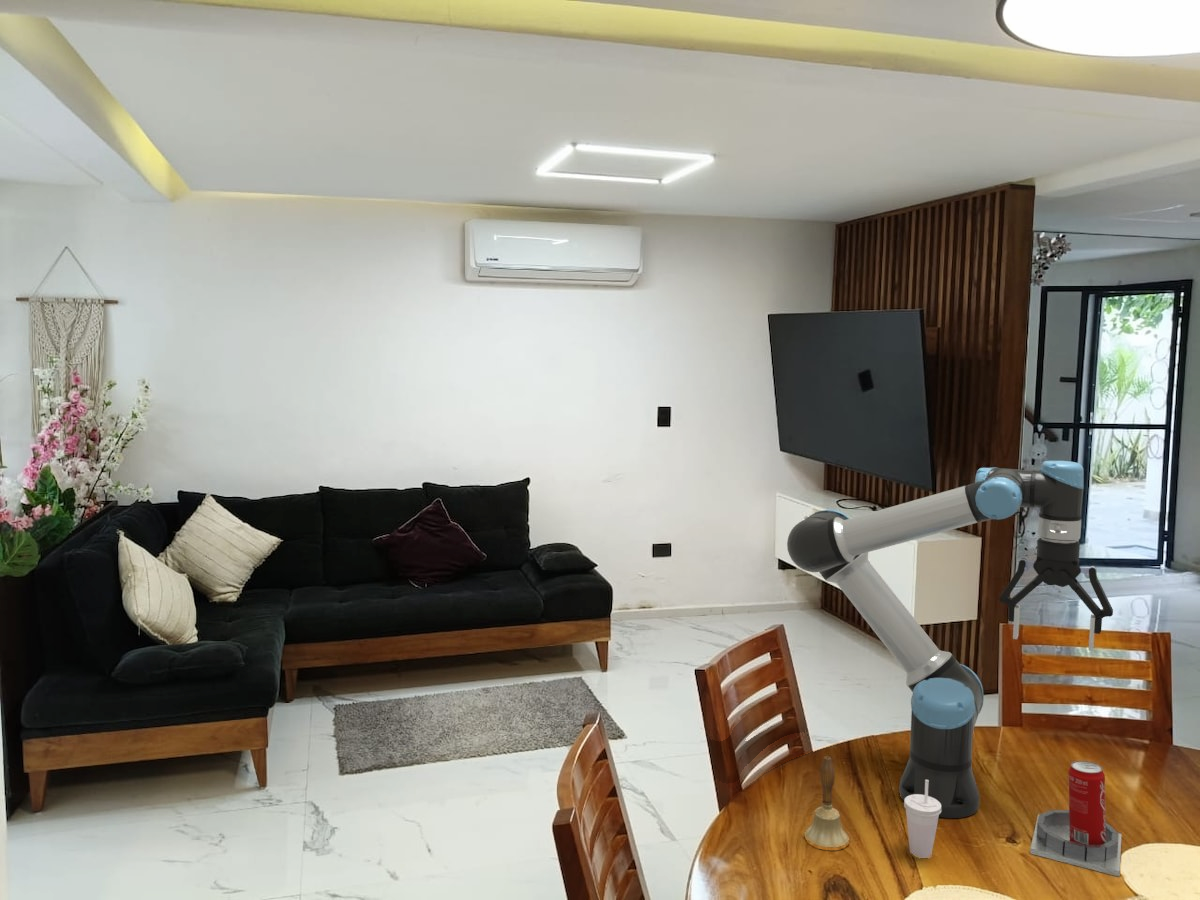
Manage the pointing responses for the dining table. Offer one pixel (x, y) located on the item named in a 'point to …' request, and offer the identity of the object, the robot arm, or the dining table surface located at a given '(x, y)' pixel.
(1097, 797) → the beverage can
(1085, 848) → the collar
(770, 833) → the dining table surface
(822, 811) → the hand bell
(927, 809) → the smoothie
